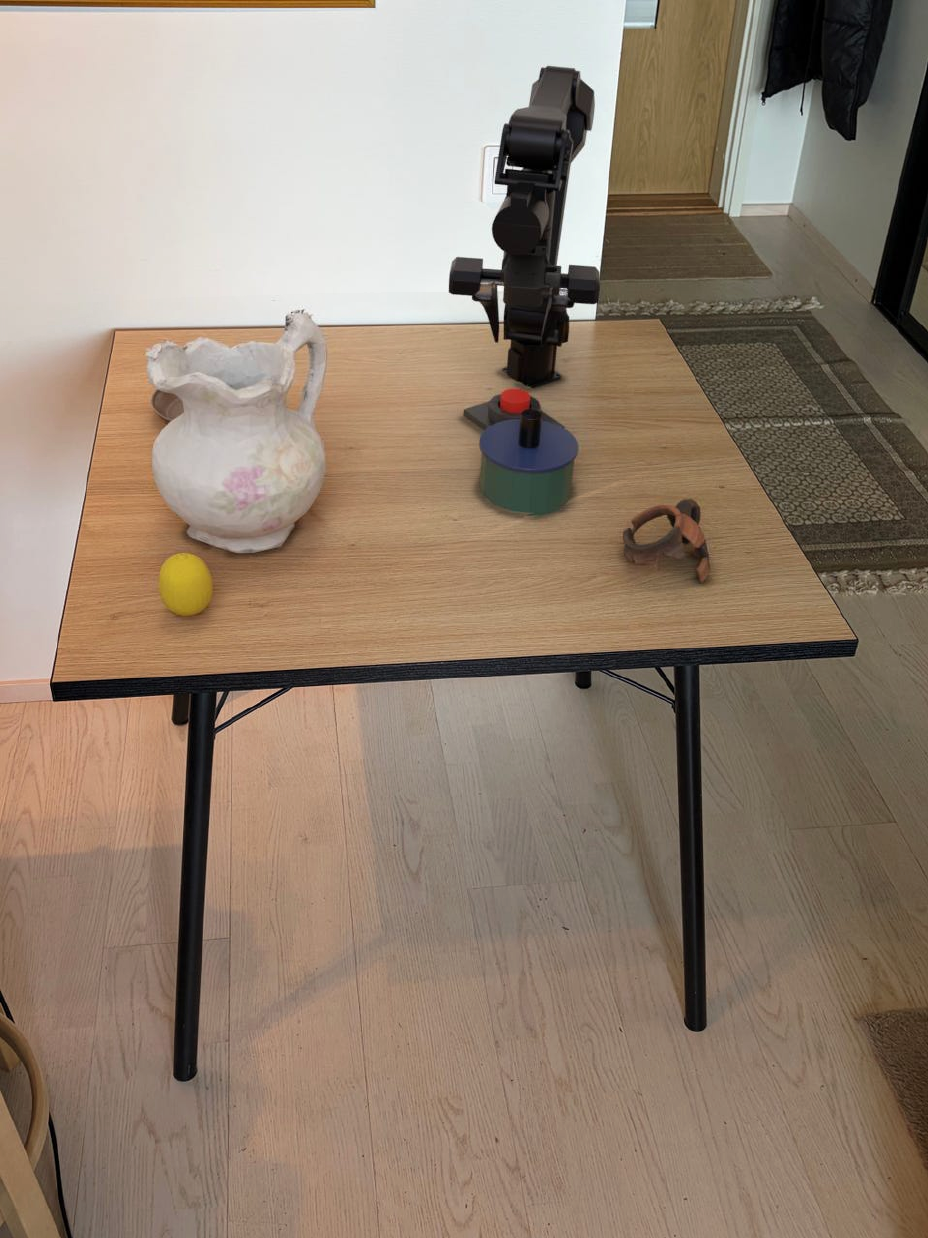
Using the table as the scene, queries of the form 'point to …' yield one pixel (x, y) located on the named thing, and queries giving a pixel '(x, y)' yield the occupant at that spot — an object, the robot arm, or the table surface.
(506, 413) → the switch block
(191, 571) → the lemon
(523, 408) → the button
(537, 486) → the pot
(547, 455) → the lid
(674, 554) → the broken clay ring
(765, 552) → the table surface
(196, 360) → the ceramic pitcher
